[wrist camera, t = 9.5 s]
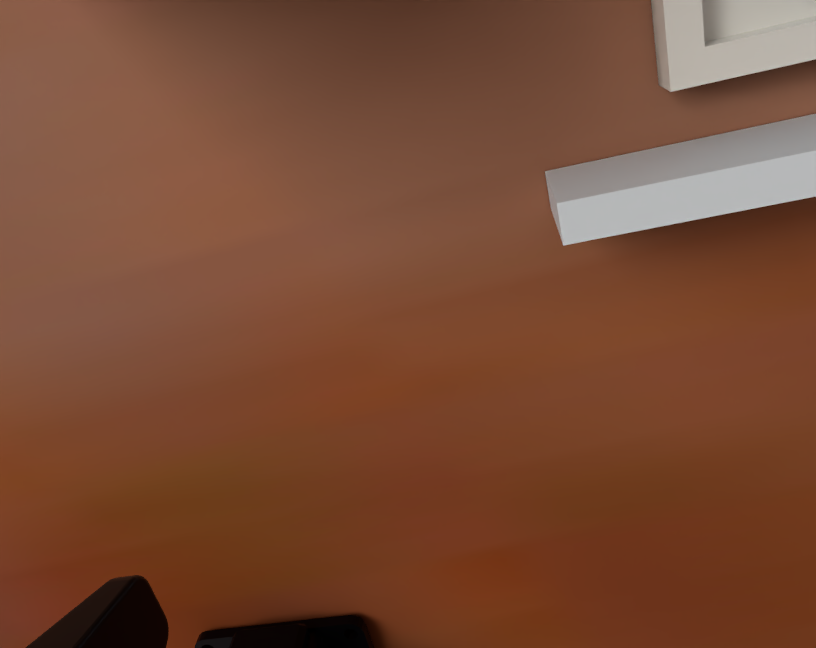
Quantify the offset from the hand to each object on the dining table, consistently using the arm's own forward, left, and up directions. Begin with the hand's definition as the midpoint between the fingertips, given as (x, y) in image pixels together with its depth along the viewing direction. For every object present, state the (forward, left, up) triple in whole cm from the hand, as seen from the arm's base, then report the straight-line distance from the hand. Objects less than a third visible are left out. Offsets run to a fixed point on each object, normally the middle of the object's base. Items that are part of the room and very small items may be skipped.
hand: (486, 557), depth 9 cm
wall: (+1, -9, -12) cm, 15 cm away
